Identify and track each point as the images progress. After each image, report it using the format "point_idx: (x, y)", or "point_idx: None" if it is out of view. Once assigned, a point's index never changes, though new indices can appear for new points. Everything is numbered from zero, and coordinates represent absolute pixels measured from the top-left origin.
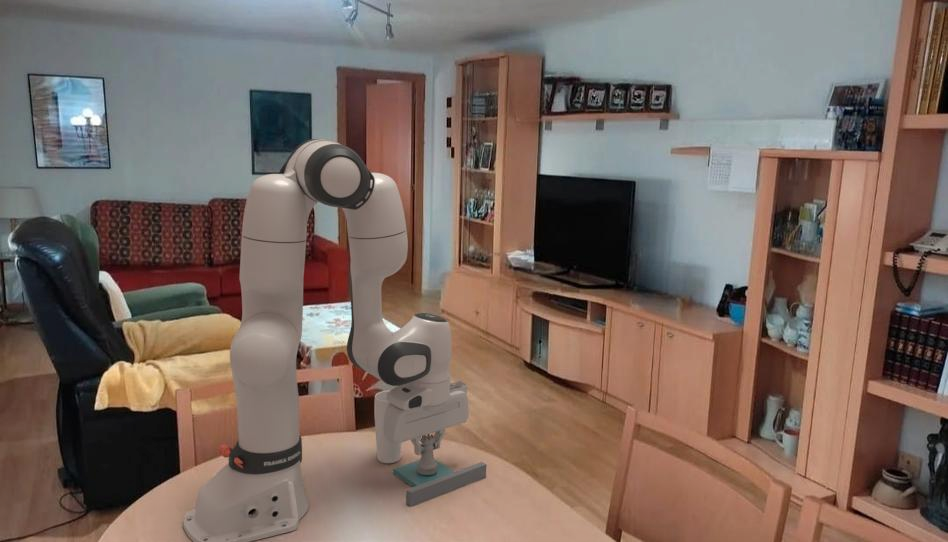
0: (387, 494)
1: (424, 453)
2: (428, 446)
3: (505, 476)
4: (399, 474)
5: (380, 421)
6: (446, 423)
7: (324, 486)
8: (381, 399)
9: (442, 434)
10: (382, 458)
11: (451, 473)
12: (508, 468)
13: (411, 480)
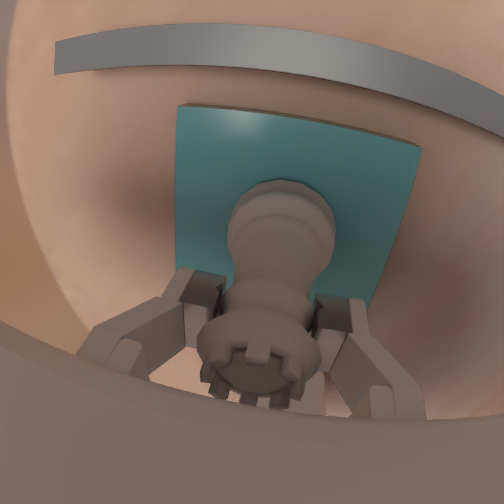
0: (488, 236)
1: (307, 291)
2: (290, 311)
3: (48, 16)
4: (371, 293)
5: None
6: (38, 393)
7: (498, 368)
8: None
9: (121, 327)
10: (324, 383)
11: (266, 64)
12: (12, 62)
13: (395, 224)
